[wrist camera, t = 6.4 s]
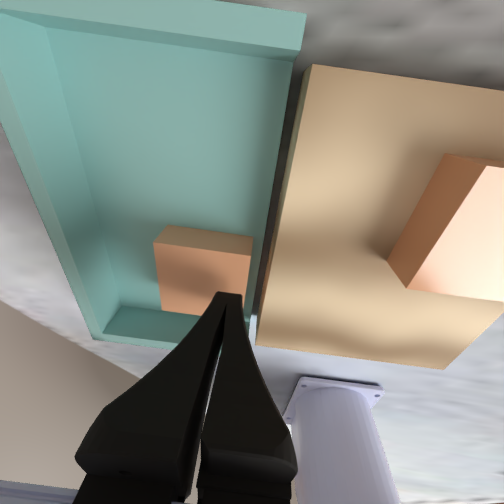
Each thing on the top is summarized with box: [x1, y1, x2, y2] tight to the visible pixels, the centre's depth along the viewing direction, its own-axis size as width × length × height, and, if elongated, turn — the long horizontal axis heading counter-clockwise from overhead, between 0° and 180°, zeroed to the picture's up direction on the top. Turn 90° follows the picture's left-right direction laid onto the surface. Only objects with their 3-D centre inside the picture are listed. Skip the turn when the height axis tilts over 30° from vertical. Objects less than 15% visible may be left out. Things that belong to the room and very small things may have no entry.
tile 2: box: [153, 225, 253, 316], centre depth 14 cm, size 5×5×2 cm
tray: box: [0, 0, 307, 356], centre depth 12 cm, size 17×10×3 cm, turn 173°
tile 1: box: [387, 153, 504, 302], centre depth 9 cm, size 5×5×2 cm
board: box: [255, 64, 504, 370], centre depth 13 cm, size 15×13×2 cm
